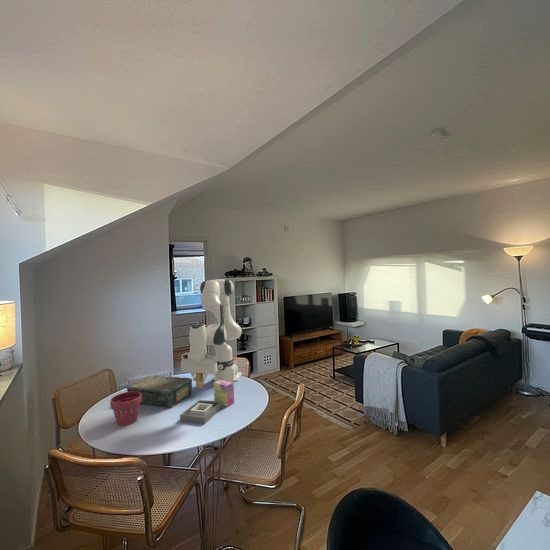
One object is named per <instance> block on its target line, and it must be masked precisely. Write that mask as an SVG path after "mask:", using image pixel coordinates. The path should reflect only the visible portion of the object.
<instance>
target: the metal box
mask: <svg viewBox="0 0 550 550" xmlns="http://www.w3.org/2000/svg"><path fill="white" fill-rule="evenodd" d="M192 388H193V378H190V377H179V376H171V375H170V376H169V375H168V376H165V375H163V376H162V375H156V374H155V375H148V376H146V377H144V378H141V379H140V380H138V381H136V382H134V383H131V384H130V385H127V386H126V392H130V391H138V392H140V393H141V394H142V401H141V403H140V405H146V406H155V407H164V408H170V409H172V408H173V407H174V406H177V404H179V403H181V402H183V401H184V400H185V399H187V398H188V397H190V396H191V395H192V394H193V393H192Z"/></svg>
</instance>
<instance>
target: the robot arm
mask: <svg viewBox="0 0 550 550" xmlns="http://www.w3.org/2000/svg"><path fill="white" fill-rule="evenodd" d="M233 283H234V282H233V281H232V280H231V279H227V278H226V279H220V278H219V279H210V280H204V281H202V282H201V283H200V287H199V291H200V294H201V296H200V305H201V306H202V308H203V309H205V310H206V311H208V312H211V313H213V316H214V318H216V319H217V323H213V324H208V326H206V325H205V323H203V322H196V323H192V324H191V325H190V327H189V334H188V335H189V339H188V340H189V341H188V342H189V345H190V346H189V351H187V352H185V353H182V354H181V361H180V370H181V372H182V373H190V375H191V378H192V382H193V381H194V382H196V375H195V373H203V378H202V381H203V382H204V383H205V382H206V381H207V377H208V375H209V374H211V375H213V376H214V377H212V380H213V381H214V382H216V381H218V380H224V381H228V382H232V383H235V382H238V381H239V380H240V379H241V376H242V374H243V373H242V372H241V371H239V367H238V366H237V365H236V364H235V360H236V358H235V357H233V348H232V346H231V345H229V344H227V343H226V341H232V340H233V341H234V340H238V339H240V337H241V336H242V332H243V331H242V327H241V326H240V325H239V324H238V323H237V322H236V321H235V320H234V319H233V317H232V313H231V308H230V307H231V306H230V296H231V295H232V294H233V293H234V289H235V285H234V284H233ZM209 345H210V346H211V345H213V346H214V349H215V355H214V354H208V346H209Z"/></svg>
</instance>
